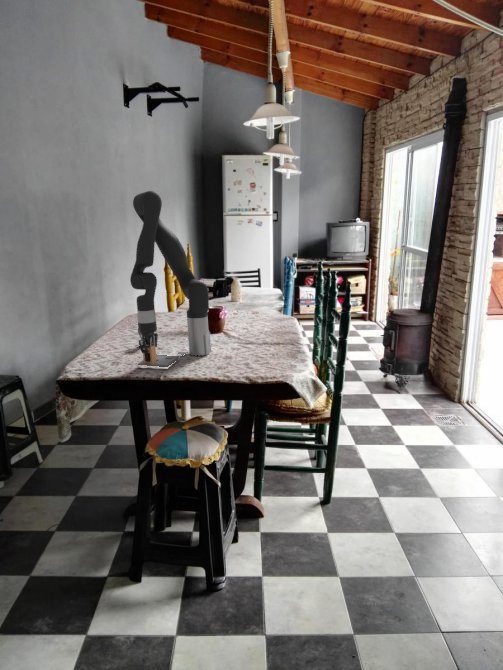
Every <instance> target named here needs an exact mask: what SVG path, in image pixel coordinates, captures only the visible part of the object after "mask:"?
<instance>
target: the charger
mask: <svg viewBox="0 0 503 670" xmlns="http://www.w3.org/2000/svg"><path fill="white" fill-rule="evenodd" d="M147 346H149V345H147ZM156 348H157V347H155V345H151V348H150V359H151V361H150V362H146V361H145V353H142V356H143V357H142V358H143V360H144V363H153V364H154V363H155V362H157V360H156V355H157V349H156ZM147 349H148V348H147ZM143 360H142V361H143Z"/></svg>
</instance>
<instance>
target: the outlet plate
mask: <svg viewBox="0 0 503 670" xmlns="http://www.w3.org/2000/svg"><path fill="white" fill-rule="evenodd" d="M179 358H180V357H179V356H167V355H157V354H156V360H157V362H155V363H154V364H153V363H144V360H141V361H140V362H138V363H137V366H138V365H147V366H159V367H168V366H169V365H171V364H172V363H174V362H175V361H177V360H178V359H179ZM179 360H180V359H179ZM177 362H178V361H177Z"/></svg>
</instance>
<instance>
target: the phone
mask: <svg viewBox="0 0 503 670" xmlns="http://www.w3.org/2000/svg"><path fill="white" fill-rule="evenodd" d="M177 352H178V354H181V355H182V356H183V355H184V354H186V353H188V354H189V351H177ZM186 355H187V354H186Z"/></svg>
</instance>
